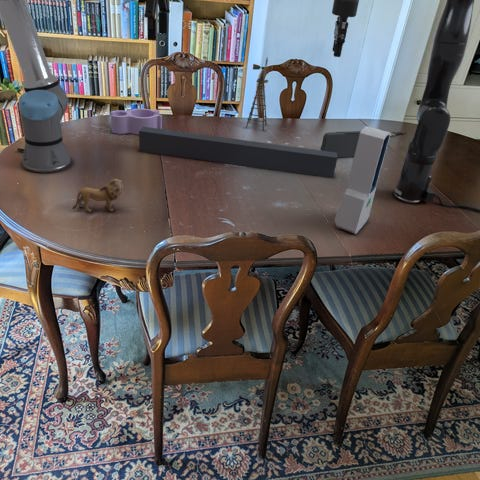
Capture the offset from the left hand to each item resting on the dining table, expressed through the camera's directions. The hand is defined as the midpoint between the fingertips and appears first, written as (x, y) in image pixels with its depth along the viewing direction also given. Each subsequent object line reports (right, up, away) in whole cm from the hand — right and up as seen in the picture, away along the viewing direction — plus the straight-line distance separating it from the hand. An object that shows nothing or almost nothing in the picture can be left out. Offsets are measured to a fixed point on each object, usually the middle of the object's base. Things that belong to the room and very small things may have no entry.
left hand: (157, 36), depth 156 cm
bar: (+26, -38, +20) cm, 51 cm away
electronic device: (+62, -63, -12) cm, 89 cm away
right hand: (+59, -7, -4) cm, 59 cm away
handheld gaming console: (+71, -34, +35) cm, 86 cm away
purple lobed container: (-16, -22, +38) cm, 47 cm away
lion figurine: (-14, -59, -18) cm, 63 cm away
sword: (+94, -21, +59) cm, 113 cm away
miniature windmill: (+35, -16, +56) cm, 68 cm away
